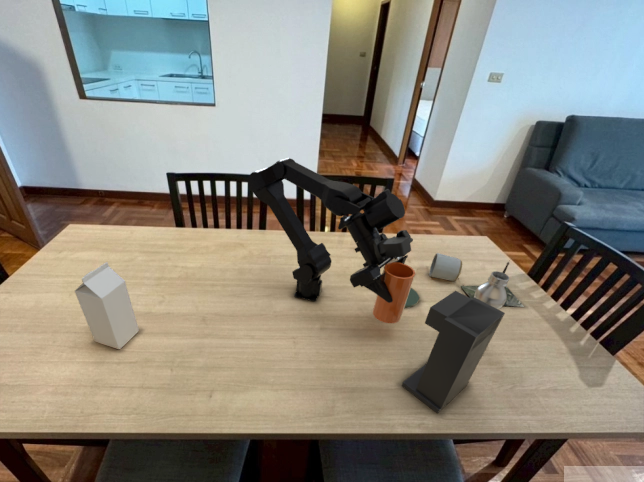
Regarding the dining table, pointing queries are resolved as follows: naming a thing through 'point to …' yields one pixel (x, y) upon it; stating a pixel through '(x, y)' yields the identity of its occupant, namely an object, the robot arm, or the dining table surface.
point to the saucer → (412, 299)
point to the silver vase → (511, 298)
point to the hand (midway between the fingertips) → (398, 295)
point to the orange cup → (394, 292)
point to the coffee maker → (453, 348)
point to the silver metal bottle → (493, 290)
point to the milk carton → (107, 307)
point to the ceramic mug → (445, 267)
